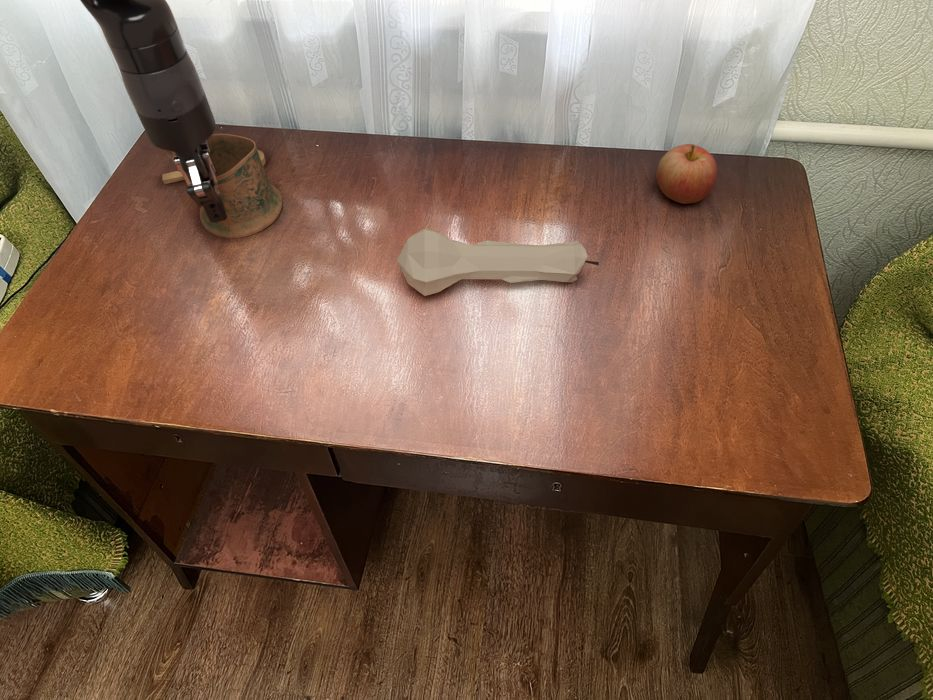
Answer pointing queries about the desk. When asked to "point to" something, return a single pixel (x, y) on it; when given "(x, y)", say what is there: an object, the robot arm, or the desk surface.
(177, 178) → the spoon
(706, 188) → the apple
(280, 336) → the desk surface
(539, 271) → the faceted club
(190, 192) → the robot arm
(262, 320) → the desk surface
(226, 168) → the mug
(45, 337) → the desk surface
